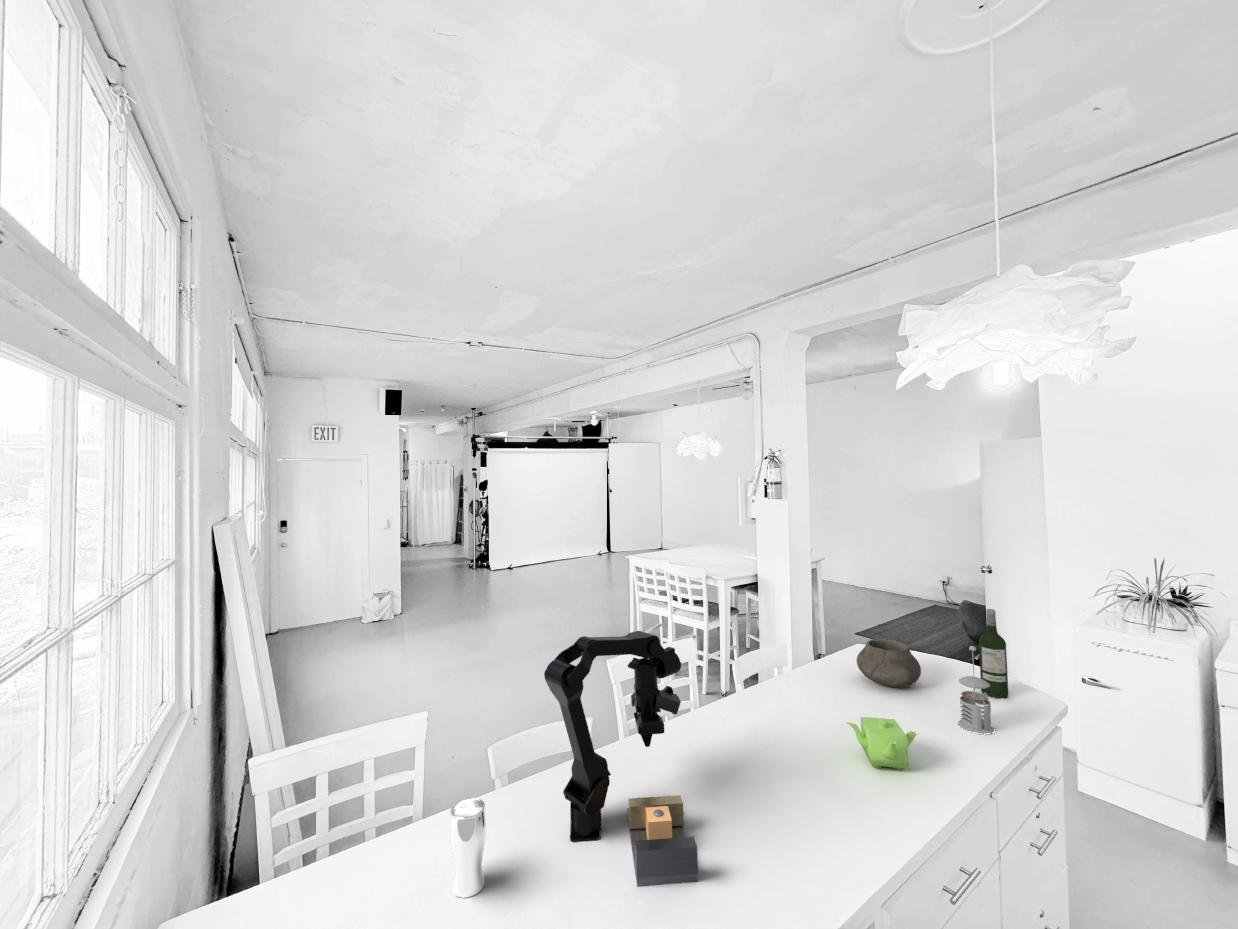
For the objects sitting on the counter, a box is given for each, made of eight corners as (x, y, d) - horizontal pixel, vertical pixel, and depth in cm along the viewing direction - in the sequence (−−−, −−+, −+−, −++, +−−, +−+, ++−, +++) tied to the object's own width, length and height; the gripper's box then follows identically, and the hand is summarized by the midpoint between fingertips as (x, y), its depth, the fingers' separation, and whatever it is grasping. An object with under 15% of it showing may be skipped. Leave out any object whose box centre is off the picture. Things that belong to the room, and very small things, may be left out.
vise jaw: (630, 829, 114) (629, 806, 114) (628, 820, 117) (628, 798, 117) (683, 825, 115) (683, 803, 115) (681, 816, 118) (680, 795, 118)
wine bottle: (986, 697, 182) (982, 612, 183) (977, 689, 190) (974, 606, 191) (1012, 700, 180) (1008, 613, 181) (1003, 691, 188) (999, 607, 189)
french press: (983, 720, 165) (979, 641, 166) (1006, 738, 154) (1002, 653, 155) (951, 719, 166) (947, 641, 167) (971, 737, 155) (968, 652, 156)
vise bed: (637, 886, 100) (636, 851, 100) (627, 814, 122) (626, 785, 122) (698, 881, 101) (697, 847, 101) (677, 810, 123) (676, 782, 123)
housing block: (648, 846, 109) (648, 820, 109) (645, 830, 114) (645, 806, 114) (672, 844, 109) (671, 819, 109) (668, 829, 114) (667, 804, 114)
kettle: (896, 783, 132) (894, 738, 133) (845, 760, 144) (843, 719, 144) (924, 764, 141) (922, 722, 141) (873, 743, 152) (871, 705, 153)
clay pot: (922, 679, 200) (921, 640, 200) (920, 699, 182) (918, 656, 182) (861, 669, 211) (859, 632, 212) (853, 687, 193) (852, 647, 194)
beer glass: (490, 871, 105) (489, 796, 105) (482, 899, 98) (481, 818, 98) (455, 873, 105) (455, 797, 105) (445, 901, 98) (444, 819, 98)
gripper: (684, 696, 122) (686, 764, 121) (671, 668, 140) (672, 727, 140) (637, 699, 121) (639, 767, 120) (630, 670, 140) (631, 729, 139)
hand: (647, 746), depth 130 cm, fingers closed
